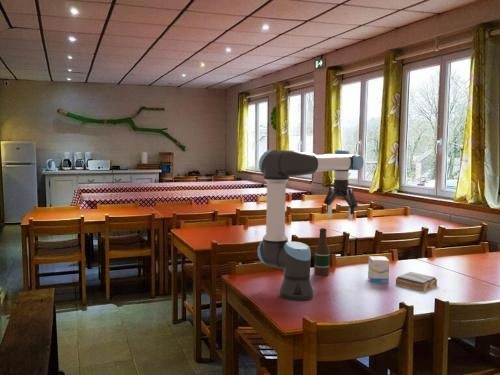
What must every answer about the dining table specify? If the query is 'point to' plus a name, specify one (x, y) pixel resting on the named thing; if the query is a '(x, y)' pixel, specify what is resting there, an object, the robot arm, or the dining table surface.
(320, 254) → the beer bottle
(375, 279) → the ink box
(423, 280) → the plinth
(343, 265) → the dining table surface
